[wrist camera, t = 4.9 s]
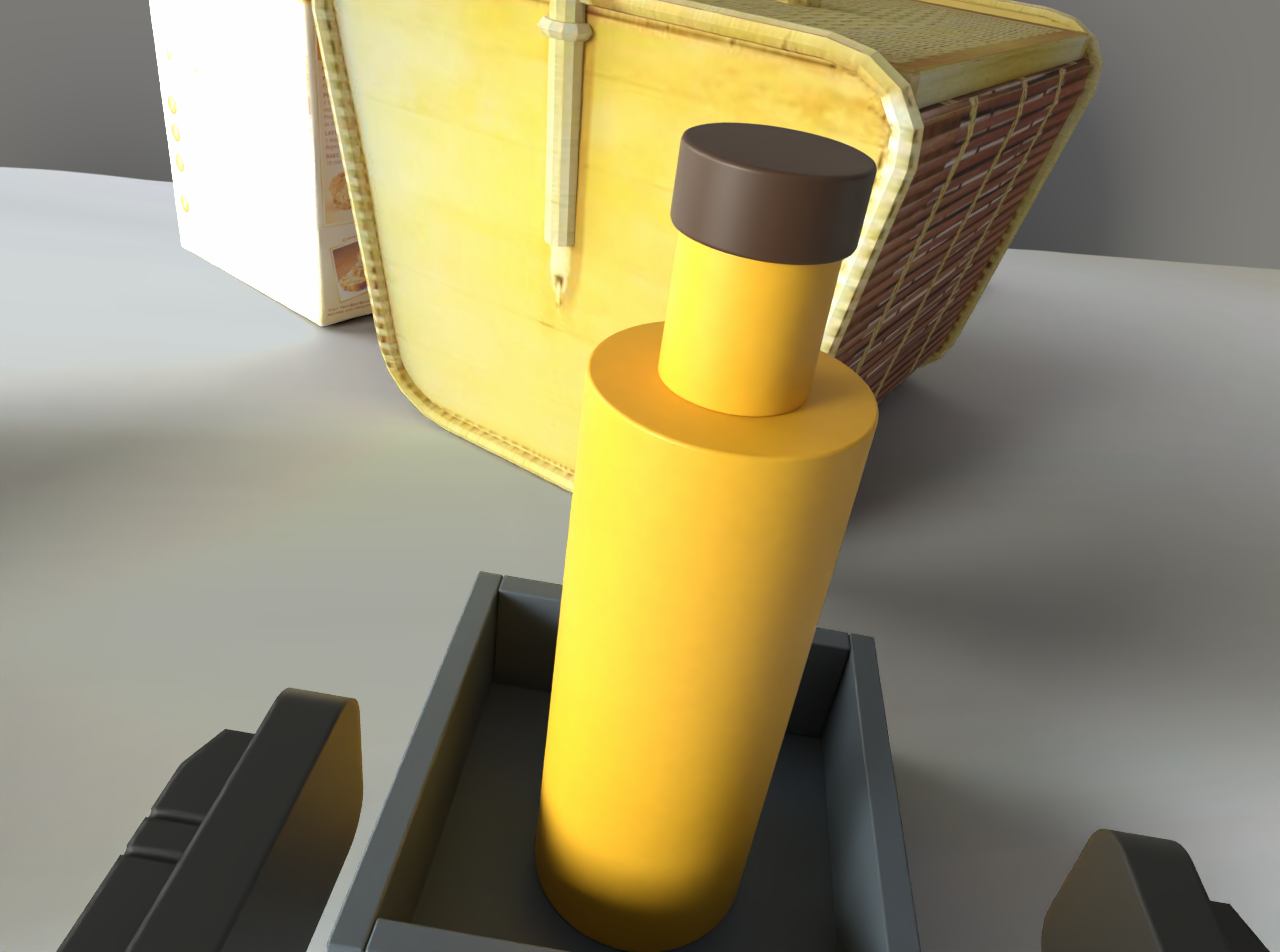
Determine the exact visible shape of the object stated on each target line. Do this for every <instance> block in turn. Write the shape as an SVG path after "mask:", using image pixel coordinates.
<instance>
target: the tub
mask: <svg viewBox="0 0 1280 952" xmlns="http://www.w3.org/2000/svg"><path fill="white" fill-rule="evenodd" d="M562 589H563V585H560V584H554V583H548V582H542V581H536V580H530V579H524V578H518V577H512V576H504V577H503V576H502V575H500V574H494V573H488V572H482V571H480V572H479V573H478V575H477V577H476V580H475V582H474V585H473V587H472V590H471V592H470V594H469V597H468V599H467V602H466V604H465V607H464V609H463V612H462V614H461V617H460V619H459V621H458V624H457V626H456V629H455V631H454V634H453V636H452V639H451V641H450V643H449V646H448V648H447V651H446V653H445V656H444V658H443V661H442V663H441V665H440V668H439V670H438V673H437V675H436V678H435V680H434V683H433V685H432V687H431V690H430V692H429V695H428V697H427V700H426V702H425V705H424V707H423V709H422V712H421V714H420V717H419V719H418V722H417V724H416V727H415V729H414V731H413V734H412V736H411V739H410V741H409V744H408V746H407V749H406V751H405V754H404V756H403V758H402V761H401V763H400V766H399V768H398V771H397V773H396V776H395V778H394V780H393V783H392V785H391V788H390V790H389V793H388V795H387V798H386V800H385V802H384V805H383V807H382V810H381V812H380V815H379V817H378V820H377V822H376V824H375V827H374V829H373V832H372V834H371V837H370V839H369V842H368V844H367V846H366V849H365V851H364V854H363V856H362V859H361V861H360V864H359V866H358V868H357V871H356V873H355V876H354V878H353V881H352V883H351V886H350V888H349V891H348V893H347V895H346V898H345V900H344V903H343V905H342V908H341V910H340V913H339V915H338V917H337V920H336V922H335V925H334V927H333V930H332V932H331V935H330V937H329V939H328V942H327V951H328V952H632V951H625V950H621V949H616V948H613V947H610V946H607V945H604V944H601V943H599V942H597V941H595V940H593V939H591V938H589V937H587V936H585V935H584V934H582V933H581V932H579V931H578V930H577V929H575V928H574V927H573V926H572V925H570V924H569V923H568V922H567V921H566V920H565V919H564V918H563V917H562V916H561V915H560V914H559V913H558V912H557V910H556V909H555V908H554V907H553V905H552V904H551V902H550V901H549V899H548V898H547V896H546V894H545V892H544V890H543V888H542V886H541V883H540V880H539V877H538V874H537V869H536V863H535V843H536V833H537V824H538V815H539V805H540V796H541V786H542V777H543V768H544V758H545V749H546V739H547V730H548V721H549V711H550V702H551V693H552V683H553V674H554V664H555V655H556V646H557V636H558V627H559V617H560V608H561V599H562ZM661 952H921V948H920V942H919V935H918V929H917V922H916V915H915V909H914V902H913V895H912V889H911V882H910V875H909V869H908V862H907V855H906V849H905V842H904V836H903V829H902V822H901V816H900V809H899V802H898V796H897V789H896V782H895V776H894V769H893V762H892V756H891V749H890V742H889V736H888V729H887V723H886V716H885V709H884V703H883V696H882V689H881V683H880V676H879V669H878V663H877V656H876V649H875V643H874V638H873V637H869V636H863V635H857V634H849V635H848V633H845V632H839V631H833V630H827V629H821V628H816V631H815V634H814V637H813V641H812V644H811V647H810V651H809V654H808V657H807V661H806V664H805V667H804V671H803V674H802V678H801V681H800V684H799V688H798V691H797V694H796V698H795V701H794V704H793V708H792V711H791V714H790V718H789V721H788V724H787V728H786V731H785V734H784V738H783V741H782V744H781V748H780V751H779V754H778V758H777V761H776V764H775V768H774V771H773V774H772V778H771V781H770V784H769V788H768V791H767V794H766V798H765V801H764V804H763V808H762V811H761V814H760V818H759V821H758V824H757V828H756V831H755V834H754V838H753V841H752V844H751V848H750V851H749V854H748V858H747V861H746V865H745V868H744V871H743V875H742V878H741V881H740V885H739V888H738V891H737V894H736V897H735V899H734V901H733V904H732V906H731V907H730V909H729V911H728V912H727V914H726V915H725V916H724V918H723V919H722V920H721V921H720V922H719V924H718V925H716V926H715V927H714V928H713V929H712V930H711V931H710V932H709V933H707V934H705V935H704V936H702V937H701V938H699V939H698V940H696V941H694V942H692V943H689V944H687V945H685V946H682V947H679V948H676V949H672V950H667V951H661Z"/></svg>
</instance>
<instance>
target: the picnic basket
mask: <svg viewBox="0 0 1280 952" xmlns="http://www.w3.org/2000/svg"><path fill="white" fill-rule="evenodd" d="M311 3H312V12H313V17H314V22H315V27H316V32H317V37H318V42H319V47H320V52H321V57H322V62H323V67H324V72H325V77H326V82H327V87H328V92H329V97H330V102H331V107H332V112H333V117H334V122H335V127H336V132H337V137H338V142H339V147H340V152H341V157H342V162H343V167H344V172H345V177H346V182H347V187H348V192H349V197H350V202H351V207H352V212H353V218H354V223H355V228H356V233H357V238H358V243H359V248H360V253H361V258H362V263H363V268H364V273H365V278H366V283H367V288H368V293H369V298H370V303H371V308H372V313H373V318H374V323H375V328H376V333H377V338H378V343H379V347H380V350H381V353H382V356H383V358H384V361H385V364H386V367H387V370H388V371H389V373H390V374H391V376H392V377H393V379H394V380H395V382H396V384H397V385H398V387H399V388H400V390H401V391H402V393H403V394H404V395H405V396H406V397H407V398H408V399H409V400H410V401H411V402H412V403H413V405H414V406H415V407H416V408H417V409H418V410H419V411H420V412H421V413H422V414H423V415H425V416H426V417H428V418H429V419H431V420H432V421H434V422H435V423H436V424H438V425H439V426H441V427H442V428H444V429H445V430H447V431H449V432H451V433H453V434H455V435H457V436H459V437H461V438H463V439H465V440H467V441H469V442H471V443H473V444H475V445H477V446H479V447H481V448H483V449H485V450H487V451H489V452H491V453H493V454H495V455H497V456H499V457H501V458H503V459H505V460H507V461H509V462H511V463H513V464H515V465H517V466H519V467H521V468H523V469H525V470H527V471H529V472H531V473H533V474H535V475H537V476H539V477H541V478H543V479H545V480H547V481H549V482H551V483H553V484H555V485H557V486H559V487H561V488H563V489H565V490H567V491H569V492H571V493H573V486H574V477H575V467H576V458H577V448H578V439H579V430H580V420H581V411H582V402H583V392H584V383H585V373H586V366H587V361H588V359H589V357H590V354H591V353H592V351H593V350H594V349H595V347H596V346H597V345H598V344H599V343H600V342H602V341H603V340H604V339H605V338H607V337H609V336H611V335H612V334H614V333H616V332H619V331H621V330H624V329H626V328H630V327H633V326H637V325H641V324H647V323H652V322H660V321H665V318H666V311H667V305H668V298H669V291H670V285H671V278H672V272H673V265H674V258H675V252H676V245H677V239H678V232H679V230H678V229H676V227H675V226H674V225H673V223H672V220H671V217H670V210H671V204H672V197H673V190H674V183H675V176H676V169H677V162H678V155H679V148H680V141H681V137H682V135H683V133H684V132H685V131H686V130H687V129H689V128H691V127H694V126H697V125H702V124H708V123H723V122H731V123H751V124H761V125H769V126H776V127H782V128H788V129H794V130H799V131H803V132H808V133H812V134H816V135H820V136H823V137H827V138H830V139H833V140H836V141H839V142H842V143H844V144H847V145H849V146H852V147H854V148H856V149H858V150H860V151H862V152H863V153H865V154H866V155H868V156H869V157H871V158H872V159H873V160H874V162H875V163H876V167H877V173H876V177H875V181H874V185H873V188H872V192H871V196H870V200H869V204H868V208H867V212H866V216H865V220H864V223H863V227H862V231H861V235H860V239H859V243H858V246H857V249H856V250H855V252H854V253H853V254H852V255H851V256H849V257H848V258H846V259H844V260H842V264H841V268H840V272H839V276H838V280H837V284H836V288H835V292H834V296H833V300H832V304H831V308H830V312H829V316H828V320H827V324H826V328H825V332H824V336H823V340H822V344H821V348H820V350H821V351H823V352H825V353H827V354H829V355H830V356H832V357H834V358H836V359H837V360H839V361H841V362H842V363H843V364H845V365H846V366H848V367H849V368H850V369H852V370H853V371H854V372H855V373H856V374H857V375H859V376H860V377H861V378H862V379H863V380H864V382H865V383H866V384H867V385H868V386H869V388H870V389H871V391H872V392H873V394H874V396H875V399H876V401H877V404H878V403H879V402H880V401H882V400H883V399H884V398H885V397H886V396H887V395H888V394H889V393H890V392H892V391H893V390H894V389H895V388H896V387H897V386H898V385H899V384H900V383H902V382H903V381H904V380H905V379H906V378H907V377H908V376H909V375H910V374H912V373H913V372H914V371H915V370H916V369H917V368H920V367H922V366H925V365H927V364H929V363H931V362H934V361H936V360H938V359H940V358H941V357H942V356H943V355H944V354H945V353H946V352H947V351H948V350H949V349H950V348H951V347H952V346H953V345H954V344H955V342H956V340H957V338H958V337H959V335H960V333H961V331H962V329H963V328H964V326H965V324H966V322H967V320H968V319H969V317H970V315H971V313H972V311H973V310H974V308H975V306H976V304H977V302H978V301H979V299H980V297H981V295H982V293H983V292H984V290H985V288H986V286H987V284H988V283H989V281H990V279H991V277H992V276H993V274H994V272H995V270H996V268H997V267H998V265H999V263H1000V261H1001V259H1002V258H1003V256H1004V254H1005V252H1006V250H1007V249H1008V247H1009V245H1010V243H1011V241H1012V240H1013V238H1014V236H1015V234H1016V232H1017V230H1018V229H1019V227H1020V225H1021V223H1022V222H1023V220H1024V218H1025V216H1026V214H1027V213H1028V211H1029V209H1030V207H1031V206H1032V204H1033V202H1034V200H1035V198H1036V197H1037V195H1038V193H1039V191H1040V189H1041V188H1042V186H1043V184H1044V182H1045V180H1046V179H1047V177H1048V175H1049V173H1050V171H1051V170H1052V168H1053V166H1054V164H1055V162H1056V161H1057V159H1058V157H1059V155H1060V154H1061V152H1062V150H1063V148H1064V146H1065V145H1066V143H1067V141H1068V139H1069V137H1070V136H1071V134H1072V132H1073V130H1074V128H1075V127H1076V125H1077V123H1078V121H1079V119H1080V118H1081V116H1082V114H1083V112H1084V110H1085V109H1086V107H1087V105H1088V103H1089V101H1090V100H1091V98H1092V96H1093V94H1094V93H1095V91H1096V88H1097V85H1098V81H1099V78H1100V74H1101V70H1102V66H1103V61H1102V57H1101V53H1100V49H1099V45H1098V41H1097V38H1096V37H1095V36H1094V35H1093V34H1092V33H1091V32H1090V31H1089V30H1088V29H1087V28H1086V27H1085V26H1084V25H1083V24H1082V22H1080V20H1079V19H1078V18H1075V17H1073V16H1070V15H1068V14H1065V13H1062V12H1060V11H1057V10H1055V9H1052V8H1050V7H1044V6H1039V5H1033V4H1028V3H1023V2H1017V1H1012V0H311Z"/></svg>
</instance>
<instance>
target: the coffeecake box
mask: <svg viewBox="0 0 1280 952" xmlns="http://www.w3.org/2000/svg"><path fill="white" fill-rule="evenodd" d="M149 2H150V10H151V17H152V25H153V32H154V40H155V47H156V55H157V62H158V70H159V78H160V85H161V93H162V101H163V108H164V115H165V123H166V130H167V138H168V145H169V152H170V160H171V168H172V175H173V184H174V192H175V199H176V207H177V214H178V222H179V229H180V237H181V245H182V247H184V248H185V249H187V250H189V251H191V252H193V253H194V254H196V255H198V256H200V257H202V258H203V259H205V260H207V261H208V262H210V263H212V264H214V265H215V266H217V267H219V268H221V269H222V270H224V271H226V272H228V273H229V274H231V275H233V276H235V277H236V278H238V279H240V280H241V281H243V282H245V283H247V284H248V285H250V286H252V287H254V288H255V289H257V290H259V291H260V292H262V293H264V294H266V295H267V296H269V297H271V298H272V299H274V300H276V301H278V302H279V303H281V304H283V305H285V306H286V307H288V308H290V309H292V310H293V311H295V312H297V313H299V314H300V315H302V316H304V317H306V318H307V319H309V320H311V321H312V322H314V323H316V324H317V325H319V326H321V327H323V326H327V325H331V324H334V323H337V322H341V321H344V320H347V319H350V318H354V317H359V316H363V315H366V314H371V313H372V308H371V303H370V298H369V293H368V288H367V283H366V278H365V273H364V268H363V263H362V258H361V253H360V248H359V243H358V238H357V233H356V228H355V223H354V218H353V212H352V207H351V202H350V197H349V192H348V187H347V182H346V177H345V172H344V167H343V162H342V157H341V152H340V147H339V142H338V137H337V132H336V127H335V122H334V117H333V112H332V107H331V102H330V97H329V92H328V87H327V82H326V77H325V72H324V67H323V62H322V57H321V52H320V47H319V42H318V37H317V32H316V27H315V22H314V17H313V12H312V3H311V0H149Z"/></svg>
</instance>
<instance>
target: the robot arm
mask: <svg viewBox="0 0 1280 952" xmlns="http://www.w3.org/2000/svg"><path fill="white" fill-rule="evenodd" d="M362 800H363V773H362V752H361V731H360V711H359V705H358V702H357V700H356V699H353V698H347V697H341V696H335V695H330V694H324V693H318V692H312V691H306V690H300V689H294V688H287V689H285V690H284V691H282V692H281V693H280V695H279V696H278V697H277V698H276V700H275V701H274V703H273V705H272V706H271V708H270V710H269V711H268V713H267V715H266V716H265V718H264V720H263V721H262V723H261V725H260V726H259V728H258V730H257V732H256V733H255V734H251V733H245V732H240V731H234V730H228V729H225V730H223V731H222V732H221V733H219V734H218V735H217V736H216V737H214V738H213V739H212V740H210V741H209V742H208V743H207V744H205V745H204V746H203V747H202V748H200V749H199V750H198V751H196V752H195V753H194V754H193V755H191V756H190V757H189V758H188V759H186V760H185V761H184V762H182V763H181V764H180V766H179V767H178V769H177V770H176V772H175V773H174V775H173V776H172V778H171V779H170V781H169V782H168V784H167V785H166V787H165V788H164V790H163V791H162V793H161V794H160V796H159V797H158V799H157V800H156V802H155V803H154V805H153V806H152V808H151V814H150V816H149V817H145V819H144V820H143V822H142V823H141V825H140V826H139V828H138V829H137V831H136V832H135V834H134V835H133V837H132V838H131V840H130V841H129V843H128V844H127V849H126V852H125V854H124V855H120V856H119V858H118V859H117V861H116V862H115V864H114V865H113V867H112V868H111V870H110V871H109V873H108V874H107V876H106V877H105V879H104V880H103V882H102V883H101V885H100V886H99V888H98V890H97V891H96V893H95V894H94V896H93V897H92V899H91V900H90V902H89V903H88V905H87V906H86V908H85V909H84V911H83V912H82V914H81V915H80V917H79V918H78V920H77V921H76V923H75V924H74V926H73V927H72V929H71V930H70V932H69V933H68V935H67V936H66V938H65V939H64V941H63V942H62V944H61V945H60V947H59V948H58V950H57V951H56V952H306V951H307V948H308V946H309V944H310V941H311V939H312V937H313V934H314V932H315V929H316V927H317V925H318V922H319V920H320V918H321V915H322V913H323V911H324V908H325V906H326V904H327V901H328V899H329V897H330V894H331V892H332V890H333V887H334V885H335V883H336V880H337V878H338V876H339V873H340V871H341V869H342V866H343V864H344V862H345V859H346V857H347V855H348V852H349V850H350V847H351V845H352V842H353V839H354V836H355V833H356V829H357V826H358V822H359V817H360V813H361V807H362ZM1041 952H1270V951H1269V950H1268V949H1267V948H1266V947H1265V945H1264V944H1263V943H1262V942H1261V941H1260V940H1259V938H1258V937H1257V936H1256V935H1255V934H1254V932H1253V931H1252V930H1251V929H1250V928H1249V927H1248V925H1247V924H1246V923H1245V922H1244V921H1243V919H1242V918H1241V917H1240V916H1239V915H1238V913H1237V912H1236V911H1235V910H1234V909H1233V908H1232V906H1231V905H1230V904H1226V903H1220V902H1214V901H1210V900H1209V897H1208V895H1207V893H1206V891H1205V888H1204V886H1203V884H1202V882H1201V879H1200V877H1199V875H1198V873H1197V871H1196V868H1195V866H1194V864H1193V862H1192V860H1191V858H1190V856H1189V854H1188V853H1187V851H1186V850H1185V849H1184V848H1183V847H1182V846H1181V845H1180V844H1179V843H1177V842H1176V841H1172V840H1167V839H1161V838H1155V837H1149V836H1143V835H1137V834H1131V833H1126V832H1120V831H1114V830H1108V829H1099V830H1097V831H1096V832H1095V833H1094V834H1092V836H1091V837H1090V839H1089V840H1088V842H1087V844H1086V845H1085V847H1084V849H1083V850H1082V852H1081V854H1080V856H1079V857H1078V859H1077V861H1076V862H1075V864H1074V866H1073V868H1072V869H1071V871H1070V873H1069V874H1068V876H1067V878H1066V879H1065V881H1064V883H1063V885H1062V886H1061V888H1060V890H1059V891H1058V893H1057V895H1056V897H1055V898H1054V900H1053V902H1052V903H1051V905H1050V907H1049V909H1048V911H1047V913H1046V916H1045V919H1044V923H1043V929H1042V938H1041Z"/></svg>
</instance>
